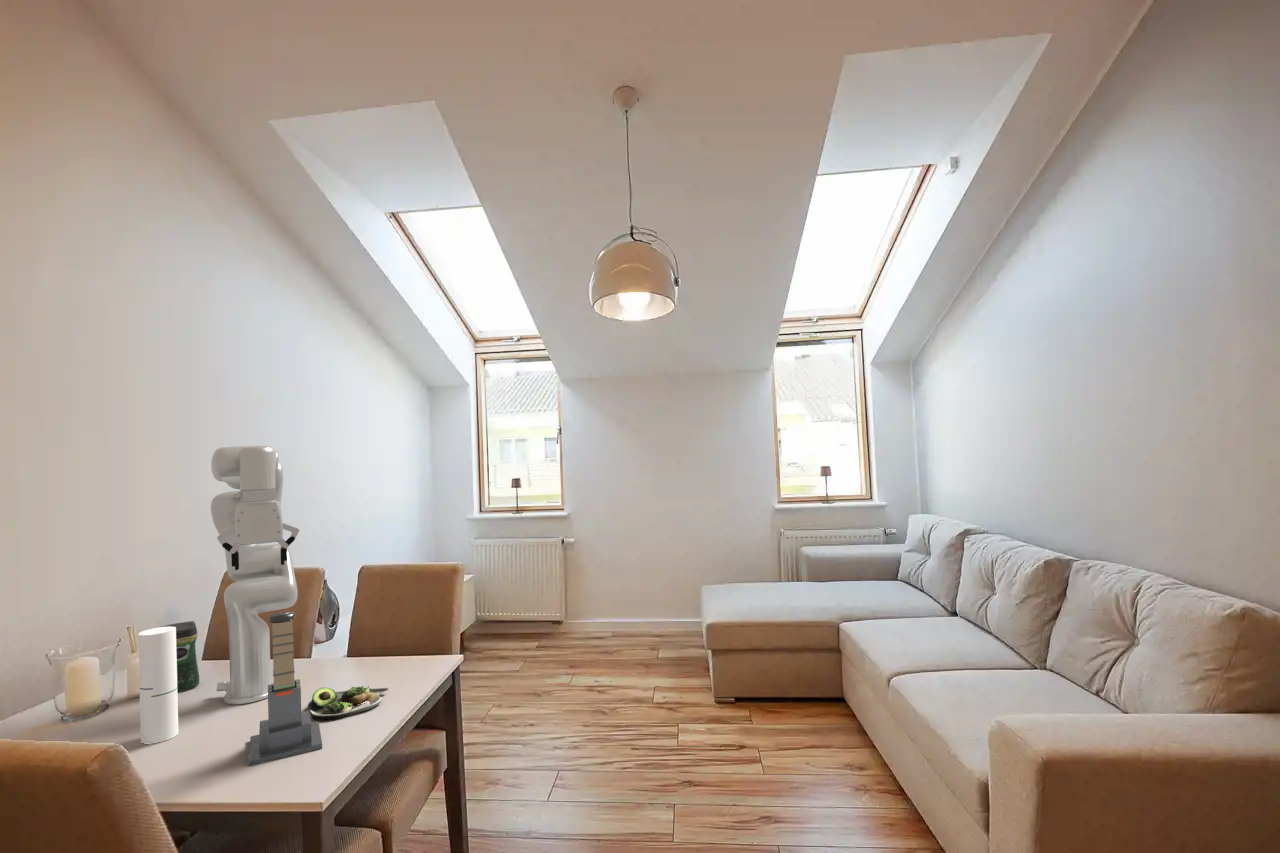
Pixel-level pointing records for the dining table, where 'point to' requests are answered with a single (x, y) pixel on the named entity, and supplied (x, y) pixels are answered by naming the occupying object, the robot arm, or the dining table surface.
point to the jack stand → (284, 728)
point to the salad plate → (342, 702)
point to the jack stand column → (283, 650)
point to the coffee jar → (186, 655)
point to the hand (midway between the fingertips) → (260, 566)
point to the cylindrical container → (158, 684)
